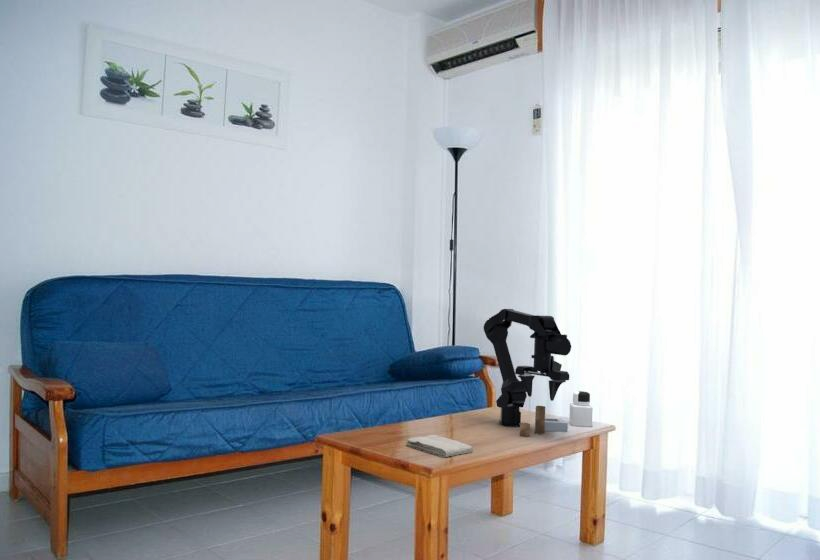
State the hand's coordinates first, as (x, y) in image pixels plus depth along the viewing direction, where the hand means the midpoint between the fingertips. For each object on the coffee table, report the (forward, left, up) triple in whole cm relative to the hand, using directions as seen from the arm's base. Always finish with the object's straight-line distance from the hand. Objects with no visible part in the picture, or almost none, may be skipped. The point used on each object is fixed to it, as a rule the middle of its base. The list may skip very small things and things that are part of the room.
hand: (540, 398), depth 218 cm
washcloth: (-36, -28, -12) cm, 47 cm away
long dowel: (0, 0, -12) cm, 12 cm away
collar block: (+6, +8, -12) cm, 16 cm away
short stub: (-6, -5, -12) cm, 14 cm away
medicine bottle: (+19, +18, -12) cm, 29 cm away
